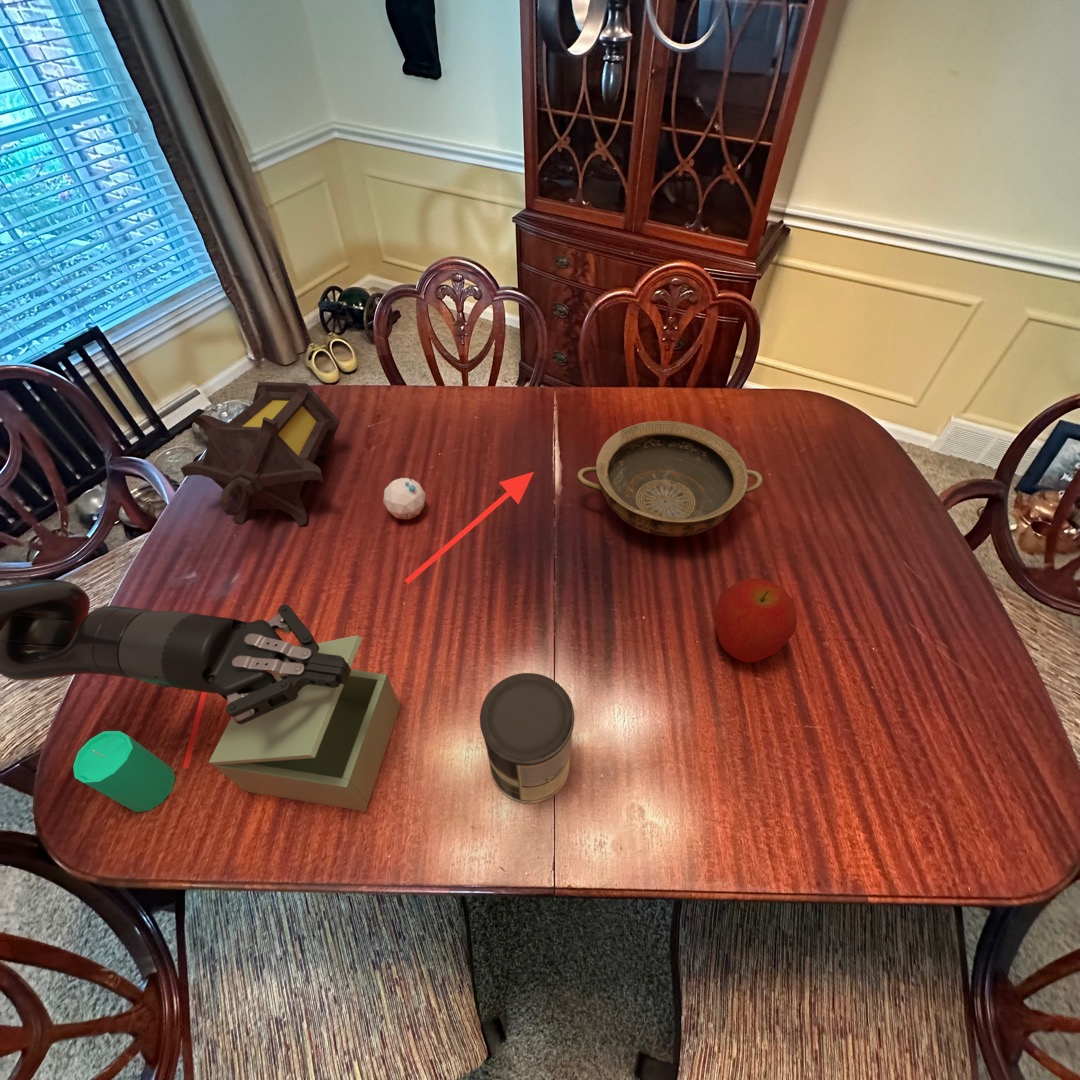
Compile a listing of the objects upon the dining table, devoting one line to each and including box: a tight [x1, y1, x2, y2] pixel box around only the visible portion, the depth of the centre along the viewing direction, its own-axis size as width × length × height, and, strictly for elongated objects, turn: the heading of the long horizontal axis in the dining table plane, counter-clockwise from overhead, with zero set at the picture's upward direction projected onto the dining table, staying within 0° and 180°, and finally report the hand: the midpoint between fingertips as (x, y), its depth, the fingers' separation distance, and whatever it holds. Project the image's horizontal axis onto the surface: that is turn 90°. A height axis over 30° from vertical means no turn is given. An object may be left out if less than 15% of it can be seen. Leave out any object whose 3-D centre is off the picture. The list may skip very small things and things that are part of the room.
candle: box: [72, 730, 176, 813], centre depth 70 cm, size 6×6×12 cm
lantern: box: [180, 381, 340, 528], centre depth 100 cm, size 21×23×30 cm
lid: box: [208, 634, 363, 766], centre depth 68 cm, size 17×14×1 cm
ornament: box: [382, 477, 427, 520], centre depth 101 cm, size 7×7×8 cm
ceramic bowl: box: [576, 420, 764, 538], centre depth 100 cm, size 30×24×10 cm
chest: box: [212, 668, 401, 813], centre depth 74 cm, size 16×14×9 cm
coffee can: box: [479, 672, 576, 804], centre depth 71 cm, size 10×10×14 cm
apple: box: [713, 578, 798, 663], centre depth 81 cm, size 10×10×14 cm
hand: (346, 672), depth 59 cm, fingers closed
